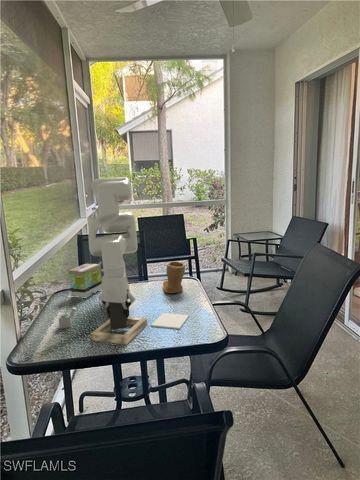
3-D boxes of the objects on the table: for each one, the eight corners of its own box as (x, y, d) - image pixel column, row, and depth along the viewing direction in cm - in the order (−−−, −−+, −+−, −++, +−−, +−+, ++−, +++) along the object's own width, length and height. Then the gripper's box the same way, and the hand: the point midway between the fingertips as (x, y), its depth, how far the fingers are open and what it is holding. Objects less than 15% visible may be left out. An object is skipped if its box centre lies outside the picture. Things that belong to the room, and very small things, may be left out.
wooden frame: (91, 340, 123) (90, 333, 122) (114, 321, 139) (114, 315, 138) (126, 344, 118) (126, 338, 117) (147, 324, 133) (146, 318, 133)
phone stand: (126, 328, 124) (123, 298, 121) (110, 330, 123) (107, 299, 121) (127, 318, 133) (125, 290, 130) (112, 320, 132) (109, 291, 130)
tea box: (86, 299, 168) (83, 271, 165) (70, 297, 171) (67, 270, 168) (103, 289, 181) (100, 263, 179) (88, 288, 185) (85, 262, 182)
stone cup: (187, 293, 166) (185, 264, 163) (163, 295, 165) (161, 266, 162) (184, 284, 181) (183, 257, 178) (163, 286, 180) (161, 259, 177)
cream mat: (151, 326, 131) (151, 324, 131) (162, 314, 142) (162, 313, 142) (179, 329, 127) (179, 327, 127) (189, 316, 138) (189, 315, 138)
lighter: (59, 328, 135) (57, 309, 133) (60, 326, 137) (58, 308, 135) (77, 326, 136) (75, 307, 135) (78, 324, 138) (76, 306, 136)
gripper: (88, 274, 123) (94, 319, 127) (129, 276, 117) (134, 323, 121) (99, 268, 130) (104, 311, 134) (139, 270, 124) (143, 314, 128)
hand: (118, 316), depth 127 cm, fingers closed on phone stand, 6 cm apart
